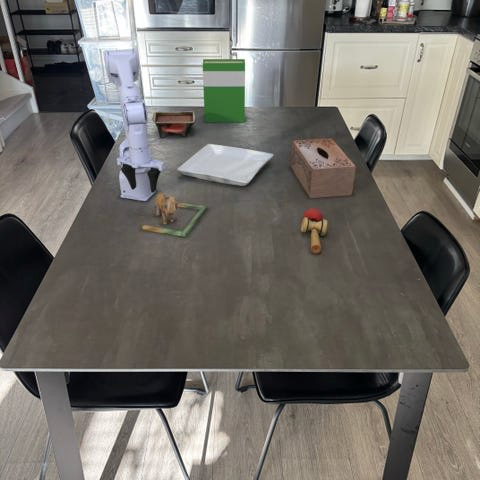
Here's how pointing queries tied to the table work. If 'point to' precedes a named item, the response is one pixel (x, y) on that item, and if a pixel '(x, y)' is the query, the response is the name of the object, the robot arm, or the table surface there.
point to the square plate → (225, 164)
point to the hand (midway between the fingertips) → (143, 189)
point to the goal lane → (188, 227)
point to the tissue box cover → (322, 168)
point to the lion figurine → (166, 206)
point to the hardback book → (224, 90)
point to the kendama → (314, 227)
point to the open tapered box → (174, 122)
